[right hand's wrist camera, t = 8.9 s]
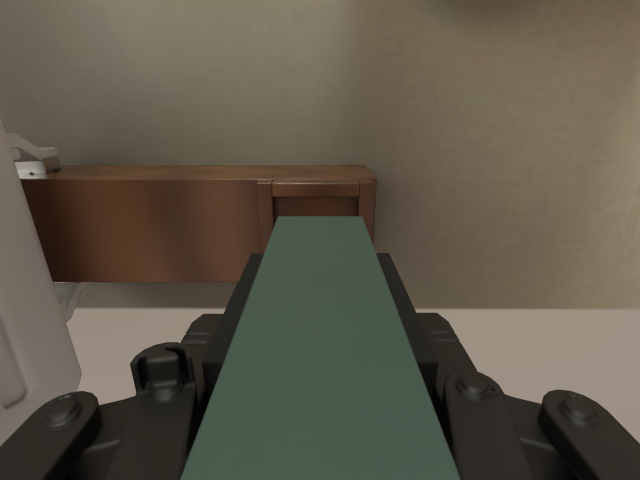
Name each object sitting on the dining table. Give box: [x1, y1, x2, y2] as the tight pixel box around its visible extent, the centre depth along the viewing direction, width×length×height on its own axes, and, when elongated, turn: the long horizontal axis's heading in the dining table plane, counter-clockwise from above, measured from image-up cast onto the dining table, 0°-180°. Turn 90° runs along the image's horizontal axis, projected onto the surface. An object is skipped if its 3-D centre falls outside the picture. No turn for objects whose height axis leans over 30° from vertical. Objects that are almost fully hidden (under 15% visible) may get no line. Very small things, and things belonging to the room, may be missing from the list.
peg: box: [180, 216, 461, 480], centre depth 11 cm, size 4×4×14 cm
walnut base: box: [18, 166, 377, 282], centre depth 24 cm, size 24×6×6 cm, turn 90°
